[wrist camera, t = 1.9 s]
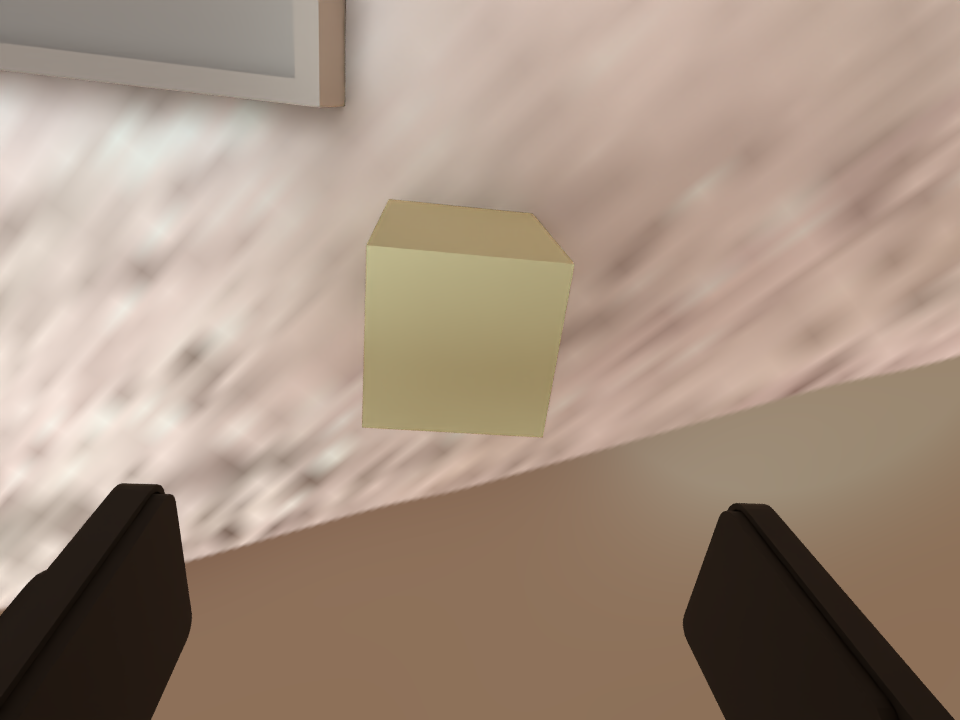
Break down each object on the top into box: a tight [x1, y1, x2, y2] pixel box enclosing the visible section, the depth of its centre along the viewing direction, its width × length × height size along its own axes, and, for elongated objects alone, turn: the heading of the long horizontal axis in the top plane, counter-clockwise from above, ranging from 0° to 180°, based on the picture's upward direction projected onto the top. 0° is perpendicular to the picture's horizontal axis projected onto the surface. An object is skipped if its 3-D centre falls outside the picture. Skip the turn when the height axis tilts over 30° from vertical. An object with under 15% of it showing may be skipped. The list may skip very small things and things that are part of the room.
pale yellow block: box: [362, 199, 575, 437], centre depth 21 cm, size 6×6×8 cm
